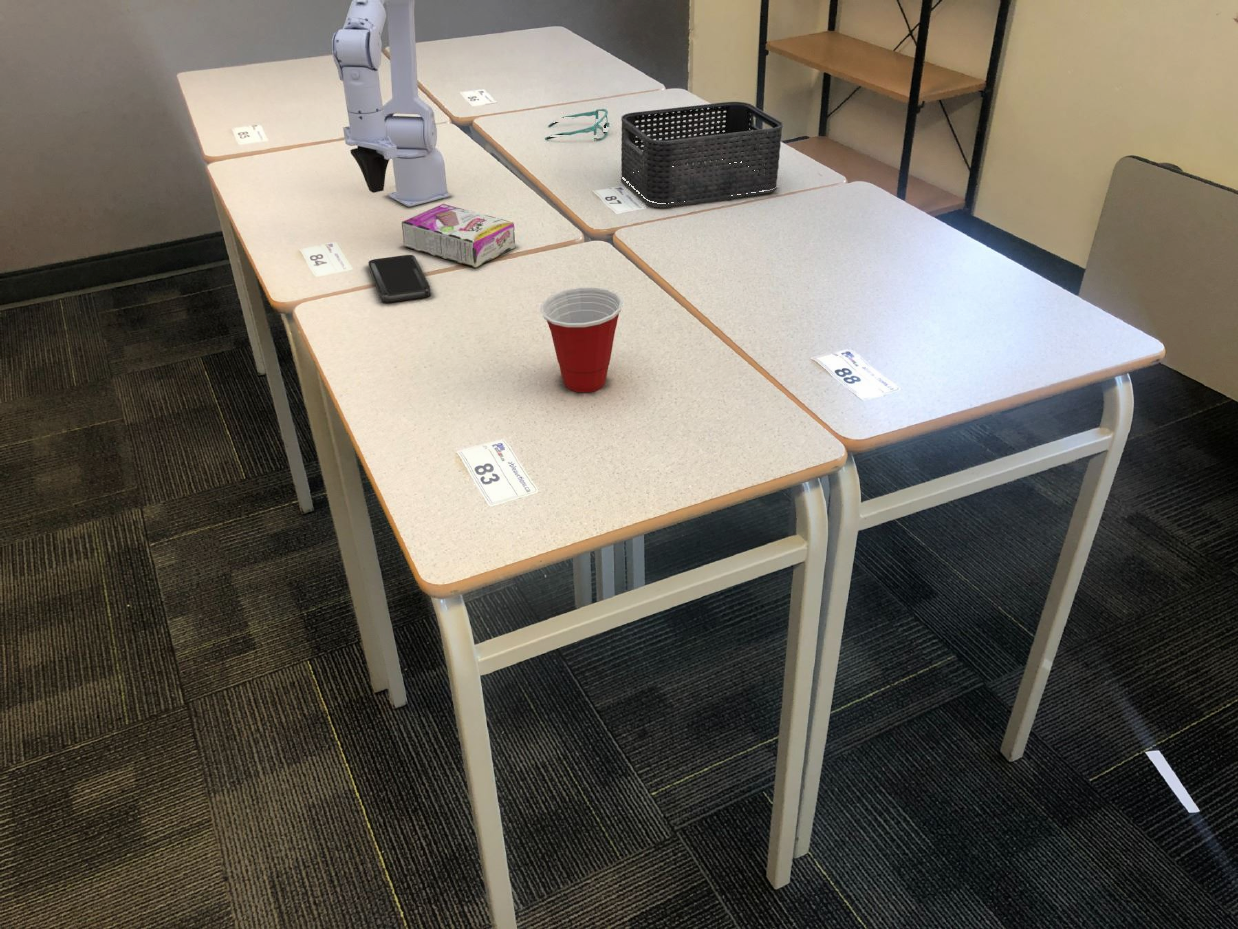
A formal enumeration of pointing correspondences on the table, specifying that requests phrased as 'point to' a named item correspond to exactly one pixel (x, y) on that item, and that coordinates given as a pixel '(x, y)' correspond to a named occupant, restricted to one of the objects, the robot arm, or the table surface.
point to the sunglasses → (586, 130)
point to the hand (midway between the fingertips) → (376, 190)
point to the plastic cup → (583, 334)
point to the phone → (399, 278)
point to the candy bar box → (459, 235)
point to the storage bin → (700, 154)
